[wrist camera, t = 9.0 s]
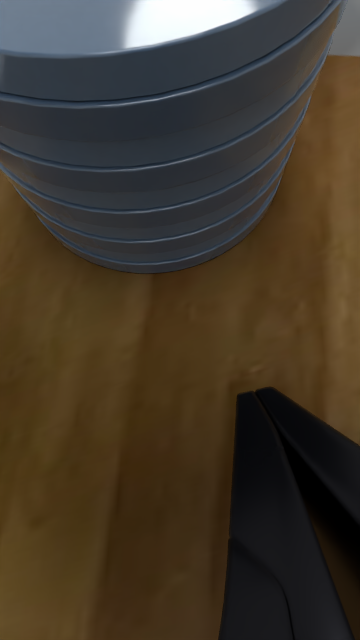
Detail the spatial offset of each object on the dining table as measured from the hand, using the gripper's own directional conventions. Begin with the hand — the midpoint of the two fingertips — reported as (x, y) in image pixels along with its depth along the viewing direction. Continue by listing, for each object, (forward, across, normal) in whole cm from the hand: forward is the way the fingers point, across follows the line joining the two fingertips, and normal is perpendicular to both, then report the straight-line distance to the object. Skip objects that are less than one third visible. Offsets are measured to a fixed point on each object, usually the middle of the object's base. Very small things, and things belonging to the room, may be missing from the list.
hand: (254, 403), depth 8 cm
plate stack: (+18, +1, -5) cm, 19 cm away
